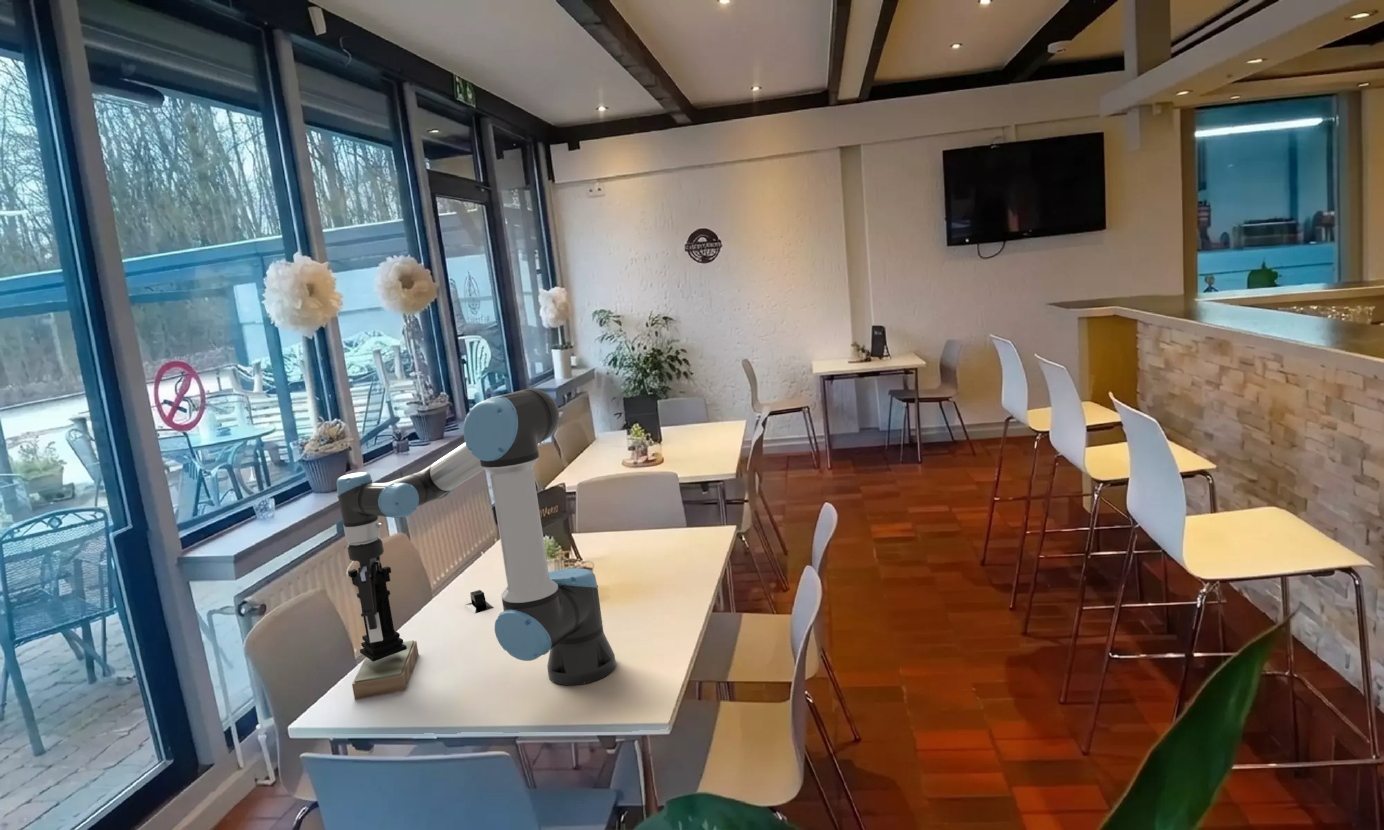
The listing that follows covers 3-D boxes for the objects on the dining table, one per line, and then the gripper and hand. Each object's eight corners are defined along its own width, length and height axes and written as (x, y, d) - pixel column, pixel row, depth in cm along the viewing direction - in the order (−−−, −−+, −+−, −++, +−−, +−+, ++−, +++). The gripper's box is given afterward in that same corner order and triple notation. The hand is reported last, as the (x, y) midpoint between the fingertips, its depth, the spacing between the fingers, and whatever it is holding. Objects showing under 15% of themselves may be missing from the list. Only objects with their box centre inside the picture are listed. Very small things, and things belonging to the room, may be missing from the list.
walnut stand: (405, 690, 193) (402, 673, 192) (354, 699, 191) (351, 682, 190) (418, 654, 212) (416, 639, 212) (372, 662, 211) (369, 646, 210)
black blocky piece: (498, 610, 238) (496, 594, 237) (473, 618, 234) (470, 602, 234) (484, 598, 249) (482, 583, 248) (460, 606, 245) (457, 590, 244)
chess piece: (360, 652, 201) (345, 571, 198) (393, 640, 206) (379, 561, 203) (373, 661, 195) (358, 577, 192) (406, 649, 200) (392, 567, 197)
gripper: (371, 551, 187) (388, 648, 190) (389, 525, 208) (404, 613, 211) (335, 556, 186) (353, 654, 189) (357, 530, 207) (373, 618, 210)
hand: (380, 633), depth 200 cm, fingers closed on chess piece, 9 cm apart
